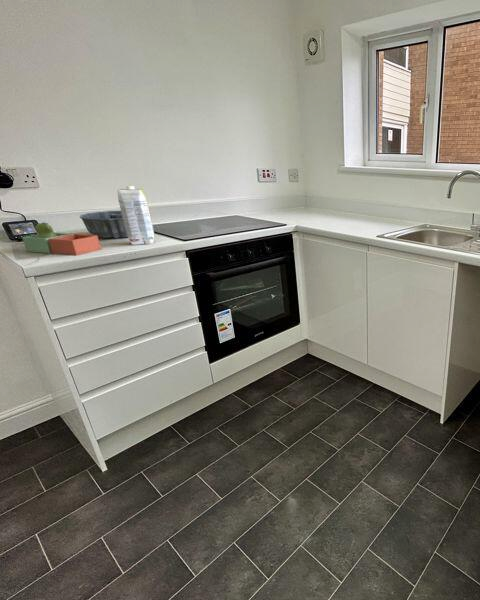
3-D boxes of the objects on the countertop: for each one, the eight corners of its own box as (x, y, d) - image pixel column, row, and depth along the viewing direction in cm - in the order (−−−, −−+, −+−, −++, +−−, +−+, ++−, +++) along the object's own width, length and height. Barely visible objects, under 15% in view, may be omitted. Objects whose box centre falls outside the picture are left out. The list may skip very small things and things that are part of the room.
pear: (62, 246, 142) (54, 221, 139) (56, 249, 138) (48, 223, 134) (45, 246, 140) (36, 221, 137) (38, 249, 136) (29, 224, 132)
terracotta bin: (76, 255, 133) (72, 240, 131) (53, 253, 134) (48, 238, 132) (101, 249, 142) (97, 235, 140) (79, 247, 144) (74, 234, 142)
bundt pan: (161, 236, 169) (156, 215, 165) (90, 243, 151) (84, 220, 147) (146, 228, 185) (142, 209, 182) (81, 234, 167) (75, 212, 164)
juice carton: (156, 240, 160) (144, 185, 151) (155, 244, 154) (142, 187, 145) (131, 242, 156) (117, 185, 147) (128, 245, 149) (113, 187, 140)
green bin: (50, 253, 134) (45, 238, 132) (26, 251, 135) (21, 237, 133) (76, 247, 144) (72, 233, 142) (54, 245, 145) (49, 232, 143)
